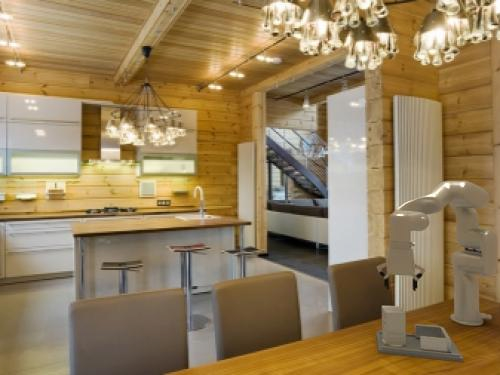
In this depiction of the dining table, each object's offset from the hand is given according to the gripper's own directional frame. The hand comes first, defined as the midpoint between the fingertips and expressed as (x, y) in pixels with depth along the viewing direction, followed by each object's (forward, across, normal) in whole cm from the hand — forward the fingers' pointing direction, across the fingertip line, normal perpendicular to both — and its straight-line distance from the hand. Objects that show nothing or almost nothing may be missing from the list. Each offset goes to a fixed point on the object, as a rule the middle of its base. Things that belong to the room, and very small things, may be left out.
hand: (400, 289), depth 139 cm
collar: (+20, -11, 0) cm, 23 cm away
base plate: (+22, -5, 0) cm, 23 cm away
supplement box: (+21, +3, 0) cm, 21 cm away
